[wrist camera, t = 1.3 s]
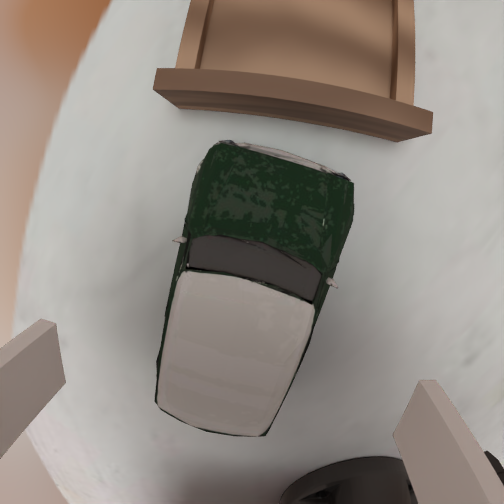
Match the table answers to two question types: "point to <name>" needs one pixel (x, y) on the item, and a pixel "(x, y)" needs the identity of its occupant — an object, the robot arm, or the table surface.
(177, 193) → the table surface
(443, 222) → the table surface
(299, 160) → the miniature car
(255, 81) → the cradle
